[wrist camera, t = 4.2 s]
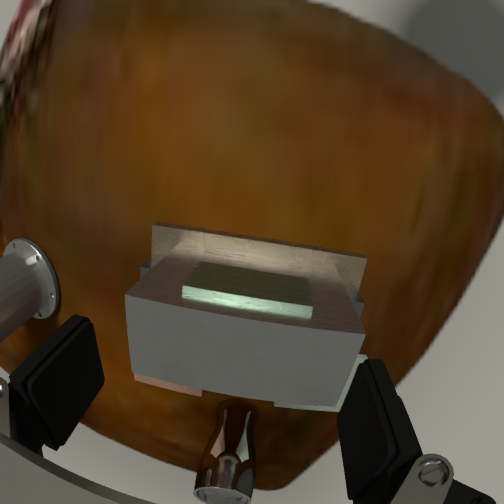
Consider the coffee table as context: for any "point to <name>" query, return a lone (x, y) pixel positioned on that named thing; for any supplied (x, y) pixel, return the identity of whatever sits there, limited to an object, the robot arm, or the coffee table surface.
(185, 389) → the terracotta pad
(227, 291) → the grey unit
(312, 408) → the sage pad
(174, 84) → the coffee table surface
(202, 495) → the chrome vase
